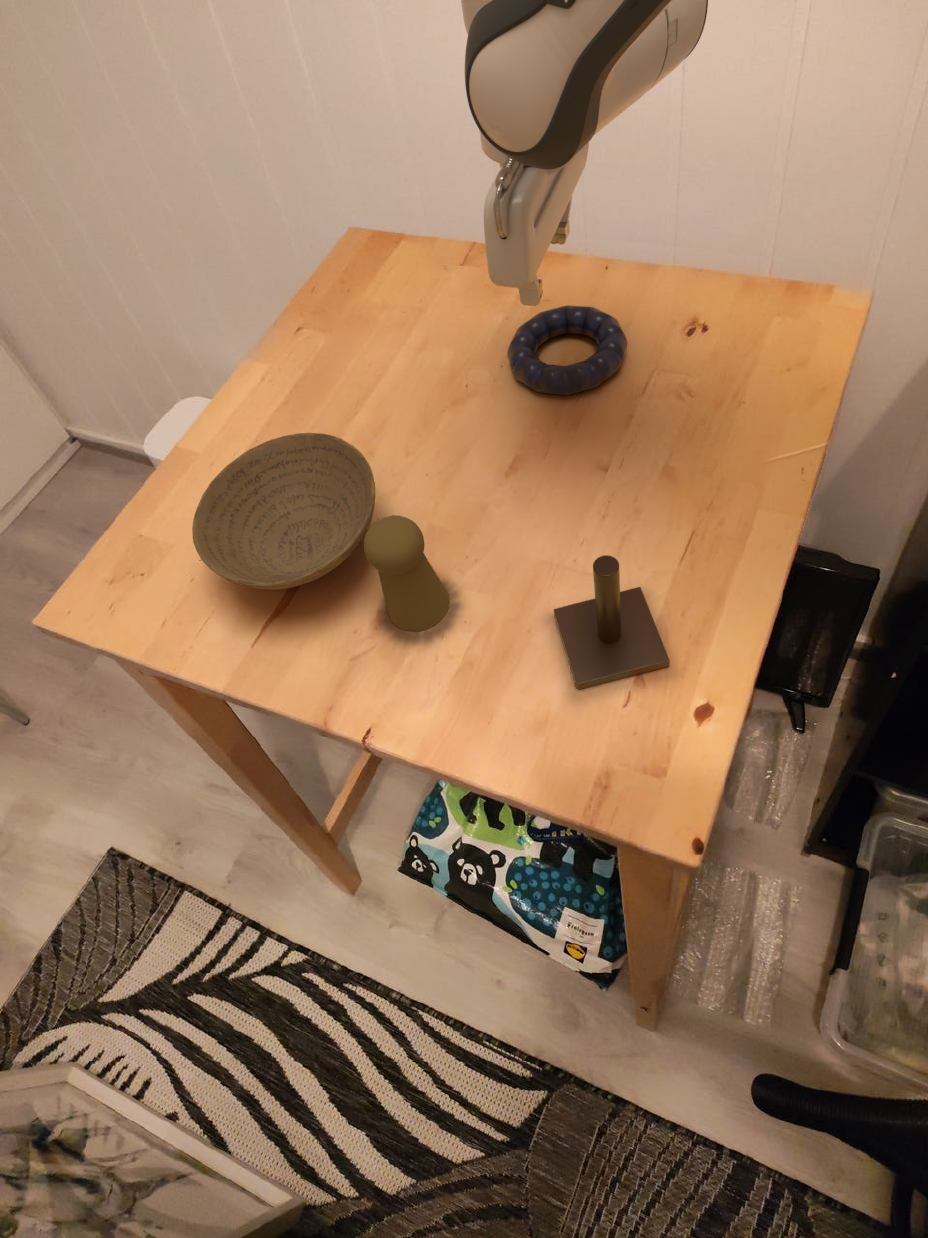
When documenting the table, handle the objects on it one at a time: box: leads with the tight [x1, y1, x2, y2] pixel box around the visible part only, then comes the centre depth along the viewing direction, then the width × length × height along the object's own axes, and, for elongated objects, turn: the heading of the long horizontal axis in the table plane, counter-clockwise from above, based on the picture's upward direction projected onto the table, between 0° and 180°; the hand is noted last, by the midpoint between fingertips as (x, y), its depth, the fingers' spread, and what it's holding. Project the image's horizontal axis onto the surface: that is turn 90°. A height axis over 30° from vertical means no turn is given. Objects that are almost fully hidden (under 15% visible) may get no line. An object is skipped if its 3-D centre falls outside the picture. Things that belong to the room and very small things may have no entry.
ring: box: [506, 305, 628, 396], centre depth 90 cm, size 13×13×3 cm
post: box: [553, 555, 671, 691], centre depth 66 cm, size 8×8×11 cm
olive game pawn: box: [363, 514, 450, 633], centre depth 72 cm, size 6×6×11 cm
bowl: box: [191, 432, 376, 590], centre depth 79 cm, size 18×18×8 cm
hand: (546, 269), depth 77 cm, fingers open, 8 cm apart
